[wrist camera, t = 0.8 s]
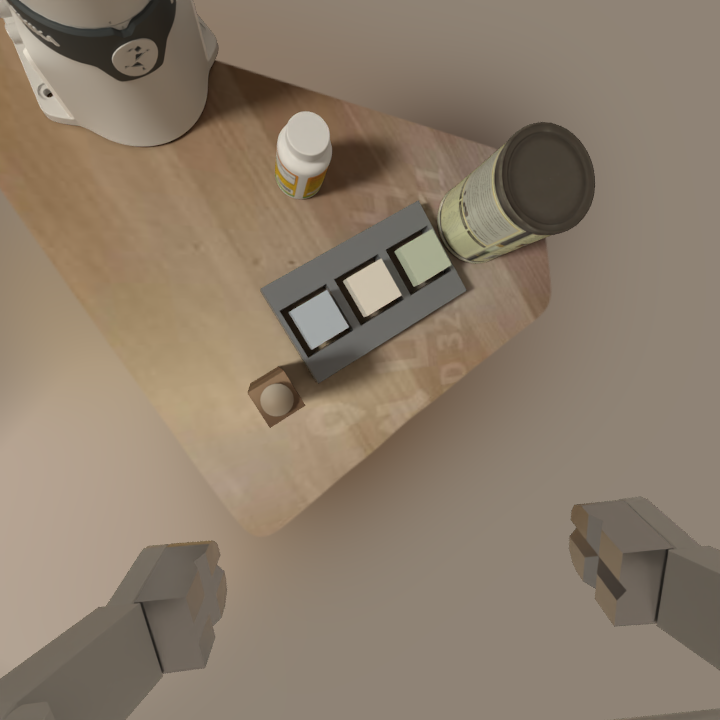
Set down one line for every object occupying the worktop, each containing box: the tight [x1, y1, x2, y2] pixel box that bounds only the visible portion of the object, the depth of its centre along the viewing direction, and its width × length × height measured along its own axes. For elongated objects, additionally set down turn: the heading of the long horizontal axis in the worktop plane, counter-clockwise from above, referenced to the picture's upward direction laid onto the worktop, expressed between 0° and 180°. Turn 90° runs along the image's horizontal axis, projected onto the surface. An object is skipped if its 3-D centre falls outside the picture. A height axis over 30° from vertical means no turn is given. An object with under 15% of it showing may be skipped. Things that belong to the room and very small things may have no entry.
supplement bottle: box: [275, 112, 332, 199], centre depth 42 cm, size 5×5×10 cm
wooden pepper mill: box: [248, 366, 305, 428], centre depth 41 cm, size 4×4×12 cm
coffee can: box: [437, 122, 595, 264], centre depth 46 cm, size 10×10×14 cm
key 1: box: [289, 290, 349, 349], centre depth 45 cm, size 5×5×2 cm
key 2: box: [394, 229, 451, 287], centre depth 47 cm, size 5×5×2 cm
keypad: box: [260, 201, 467, 383], centre depth 48 cm, size 12×21×2 cm, turn 121°
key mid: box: [343, 259, 401, 317], centre depth 46 cm, size 5×5×2 cm
